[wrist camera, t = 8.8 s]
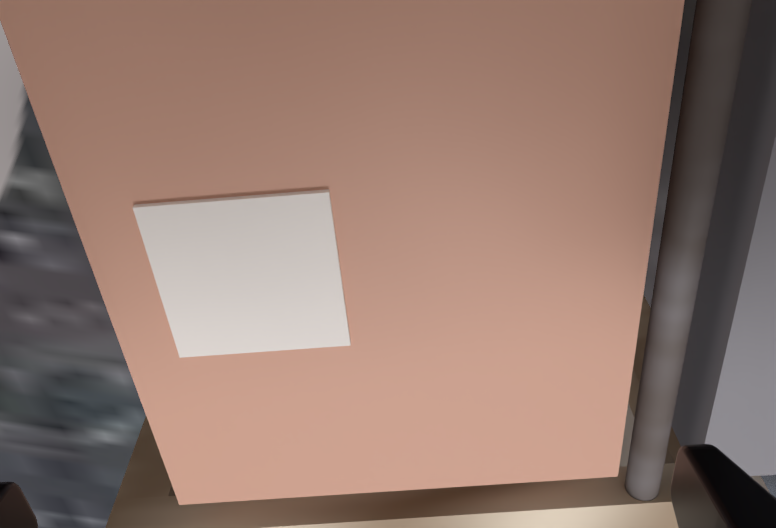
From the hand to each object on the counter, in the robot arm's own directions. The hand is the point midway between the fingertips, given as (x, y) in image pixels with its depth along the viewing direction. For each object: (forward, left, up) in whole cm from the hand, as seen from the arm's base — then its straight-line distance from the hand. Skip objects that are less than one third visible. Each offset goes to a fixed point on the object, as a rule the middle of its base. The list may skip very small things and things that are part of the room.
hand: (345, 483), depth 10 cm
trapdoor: (-3, -1, -5) cm, 6 cm away
